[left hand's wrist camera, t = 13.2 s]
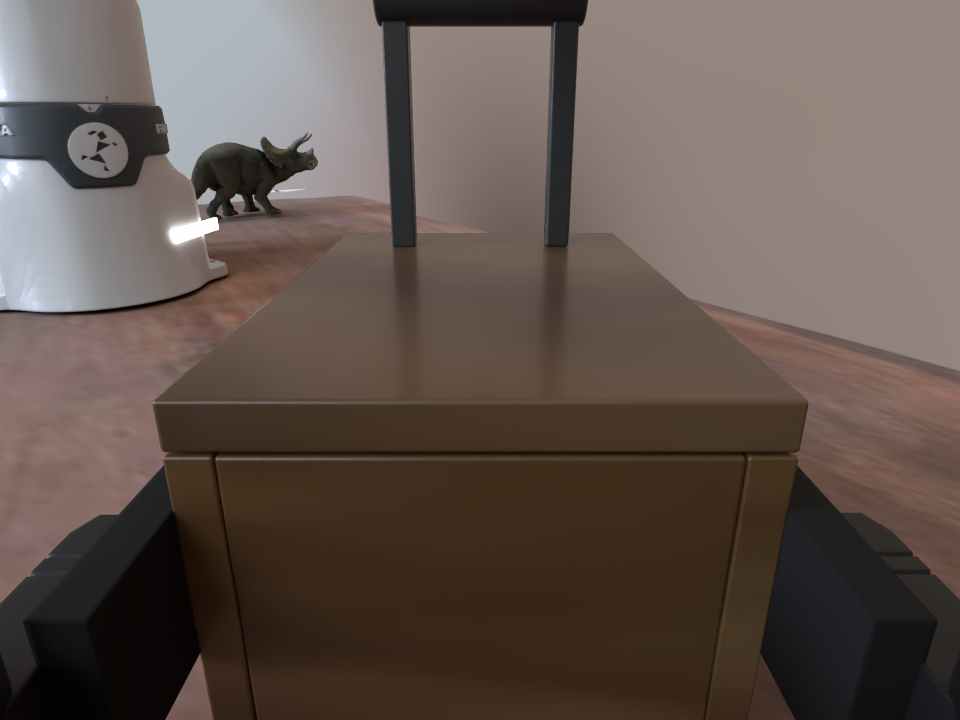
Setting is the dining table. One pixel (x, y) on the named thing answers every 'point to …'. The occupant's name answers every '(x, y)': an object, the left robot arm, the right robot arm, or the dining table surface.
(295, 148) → the toy dinosaur
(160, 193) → the right robot arm
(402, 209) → the lid
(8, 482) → the dining table surface
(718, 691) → the chest
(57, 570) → the left robot arm
